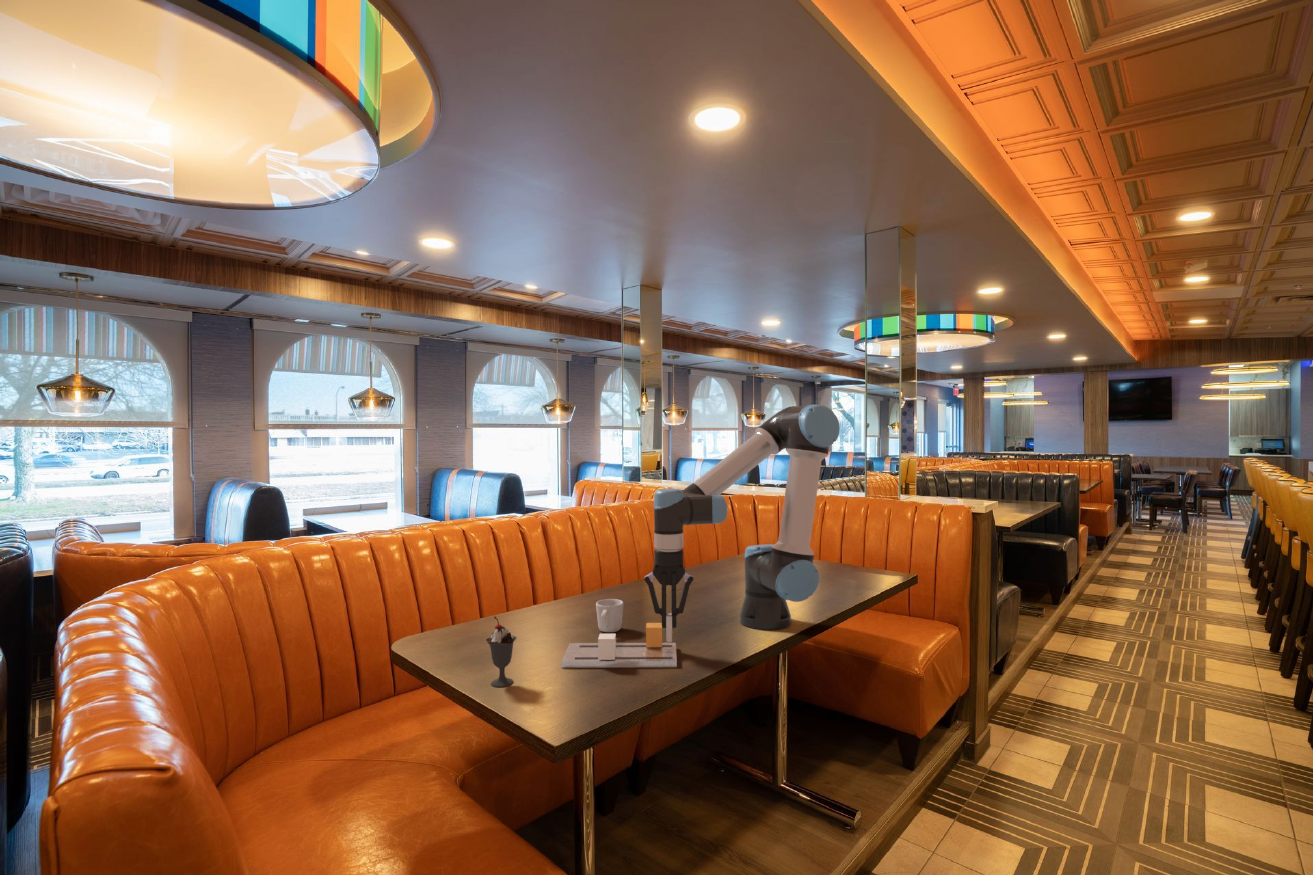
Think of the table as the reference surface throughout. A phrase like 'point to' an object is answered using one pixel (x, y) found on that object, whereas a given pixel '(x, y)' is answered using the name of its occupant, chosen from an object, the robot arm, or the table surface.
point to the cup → (609, 614)
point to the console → (620, 656)
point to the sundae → (501, 652)
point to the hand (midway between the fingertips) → (669, 639)
